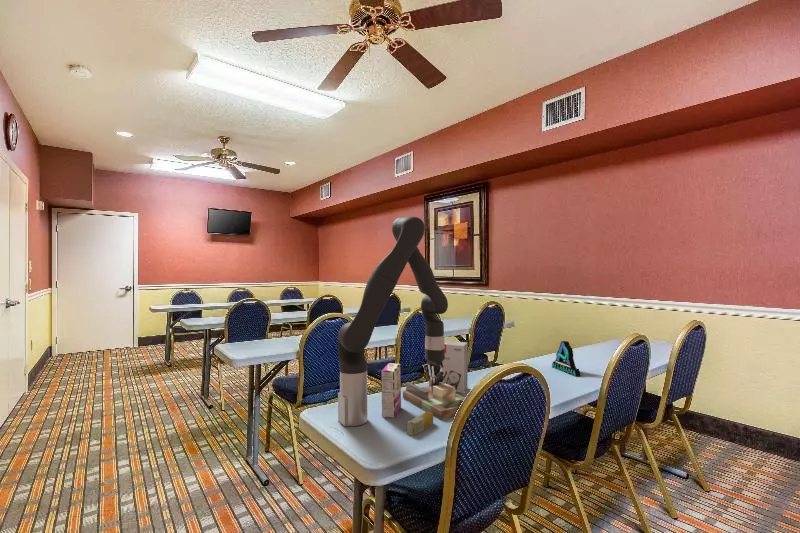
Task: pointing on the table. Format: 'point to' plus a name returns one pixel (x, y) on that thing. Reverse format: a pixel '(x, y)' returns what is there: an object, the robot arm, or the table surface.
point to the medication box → (419, 423)
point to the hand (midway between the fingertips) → (435, 392)
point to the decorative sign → (567, 355)
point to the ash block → (444, 393)
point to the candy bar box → (391, 390)
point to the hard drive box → (456, 365)
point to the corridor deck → (431, 401)
